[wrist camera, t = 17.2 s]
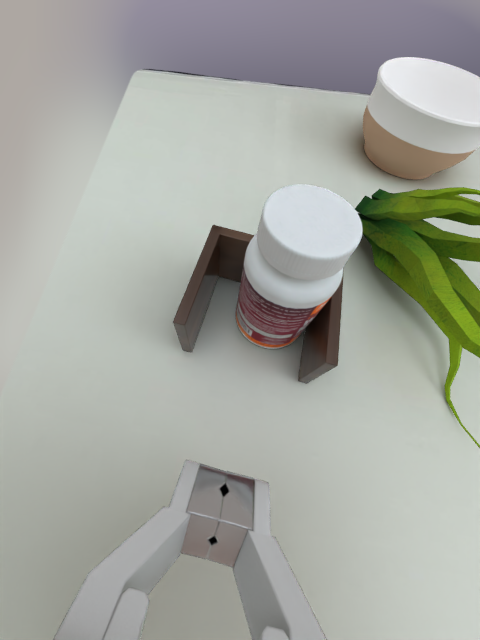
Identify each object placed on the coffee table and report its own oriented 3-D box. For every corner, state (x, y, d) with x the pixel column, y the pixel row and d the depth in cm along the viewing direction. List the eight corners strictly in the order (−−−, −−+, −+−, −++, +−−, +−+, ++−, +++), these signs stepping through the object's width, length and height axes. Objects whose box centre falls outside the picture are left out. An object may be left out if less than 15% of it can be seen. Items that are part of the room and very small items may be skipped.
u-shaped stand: (182, 350, 20) (172, 322, 15) (212, 268, 24) (212, 224, 19) (307, 383, 20) (338, 365, 15) (317, 295, 24) (344, 258, 19)
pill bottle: (299, 357, 21) (379, 280, 11) (228, 342, 21) (242, 252, 11) (303, 296, 24) (371, 190, 13) (241, 283, 24) (262, 167, 13)
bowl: (447, 208, 32) (514, 142, 25) (332, 162, 34) (364, 89, 27) (458, 149, 39) (513, 84, 31) (362, 114, 41) (393, 45, 33)
